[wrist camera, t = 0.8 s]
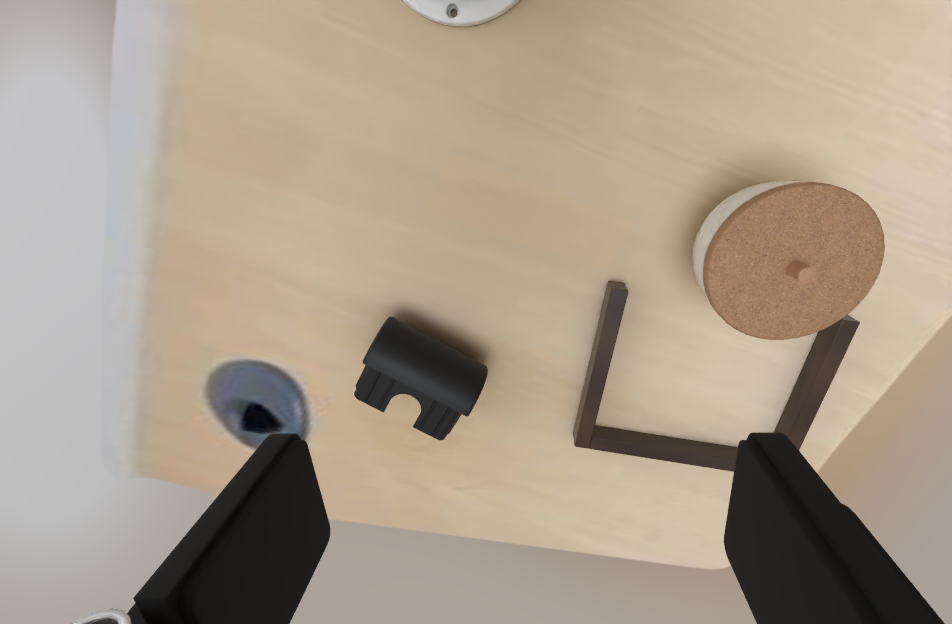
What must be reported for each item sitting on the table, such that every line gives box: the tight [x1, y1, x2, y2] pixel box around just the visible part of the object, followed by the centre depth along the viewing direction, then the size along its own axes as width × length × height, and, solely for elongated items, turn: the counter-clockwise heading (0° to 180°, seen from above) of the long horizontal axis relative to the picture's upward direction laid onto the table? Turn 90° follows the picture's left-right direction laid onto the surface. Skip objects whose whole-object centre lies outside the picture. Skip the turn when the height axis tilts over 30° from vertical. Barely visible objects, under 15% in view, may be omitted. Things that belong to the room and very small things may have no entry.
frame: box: [573, 281, 860, 471], centre depth 42 cm, size 16×20×2 cm
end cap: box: [354, 317, 488, 440], centre depth 42 cm, size 10×7×7 cm
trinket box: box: [692, 181, 885, 340], centre depth 33 cm, size 11×11×9 cm
